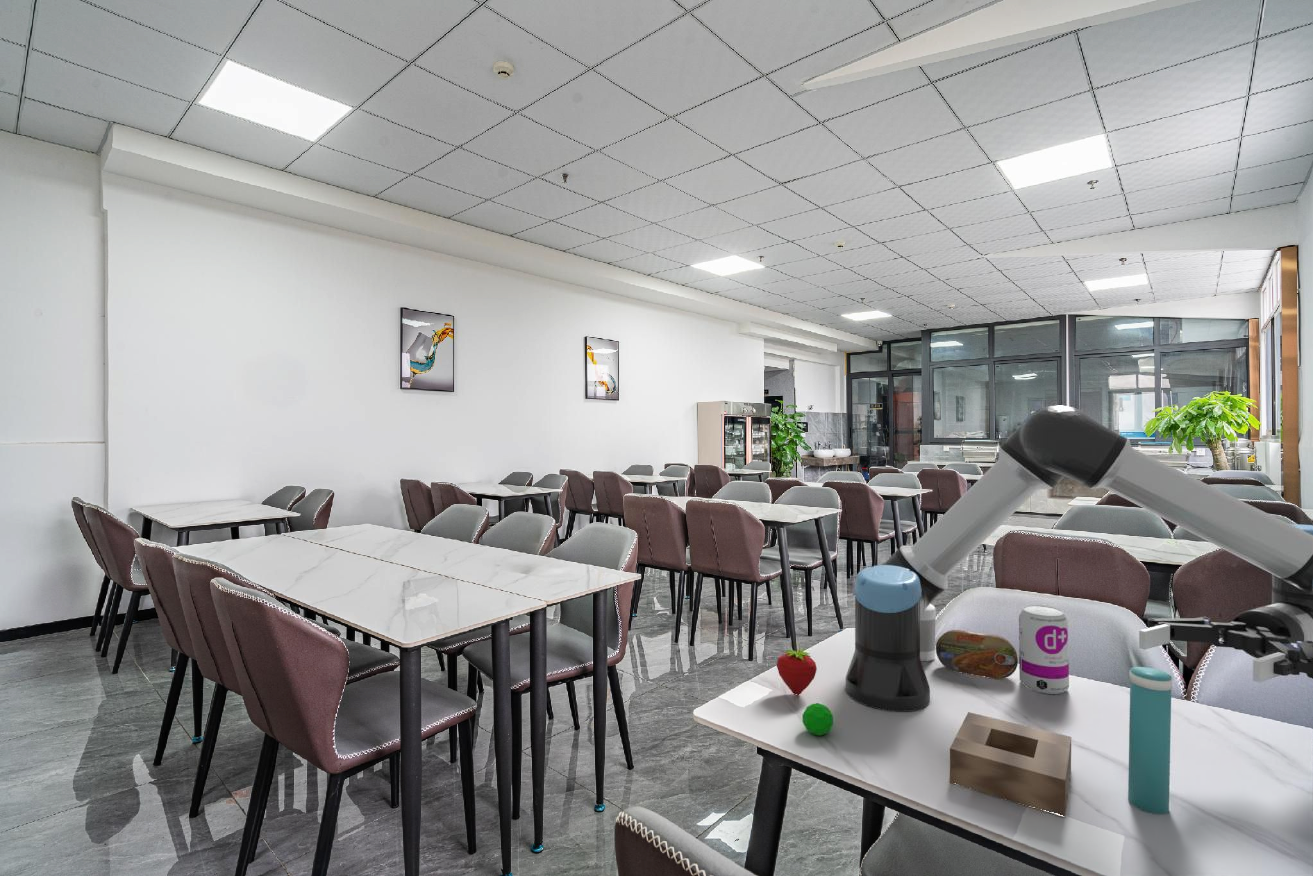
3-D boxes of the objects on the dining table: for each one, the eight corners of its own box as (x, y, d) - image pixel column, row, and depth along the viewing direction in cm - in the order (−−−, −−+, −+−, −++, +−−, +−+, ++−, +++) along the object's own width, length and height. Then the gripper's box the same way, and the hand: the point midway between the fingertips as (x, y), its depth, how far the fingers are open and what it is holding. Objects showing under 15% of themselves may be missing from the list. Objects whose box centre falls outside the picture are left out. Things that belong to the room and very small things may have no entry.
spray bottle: (920, 664, 136) (921, 580, 136) (895, 653, 142) (895, 573, 142) (942, 658, 139) (942, 576, 139) (916, 648, 146) (916, 570, 145)
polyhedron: (797, 733, 106) (797, 705, 106) (811, 723, 110) (811, 696, 110) (824, 744, 103) (824, 715, 103) (838, 732, 107) (838, 704, 106)
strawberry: (780, 685, 126) (780, 635, 125) (819, 691, 123) (819, 640, 122) (773, 697, 120) (773, 644, 120) (813, 704, 117) (814, 650, 117)
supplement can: (1077, 696, 120) (1076, 617, 119) (1029, 694, 121) (1028, 616, 121) (1057, 678, 128) (1056, 604, 127) (1013, 677, 129) (1012, 603, 129)
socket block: (949, 782, 92) (949, 748, 92) (967, 742, 103) (968, 712, 103) (1064, 817, 84) (1065, 780, 84) (1070, 769, 95) (1071, 736, 95)
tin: (935, 668, 134) (935, 628, 134) (937, 663, 137) (937, 624, 137) (1017, 683, 126) (1017, 641, 126) (1018, 678, 129) (1018, 636, 129)
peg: (1127, 806, 86) (1129, 674, 85) (1126, 790, 90) (1129, 664, 89) (1171, 819, 83) (1173, 683, 83) (1168, 801, 87) (1171, 671, 87)
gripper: (1390, 685, 87) (1314, 717, 79) (1179, 632, 110) (1102, 652, 101) (1391, 631, 87) (1315, 657, 78) (1179, 589, 110) (1102, 605, 101)
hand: (1195, 654), depth 90 cm, fingers open, 13 cm apart
